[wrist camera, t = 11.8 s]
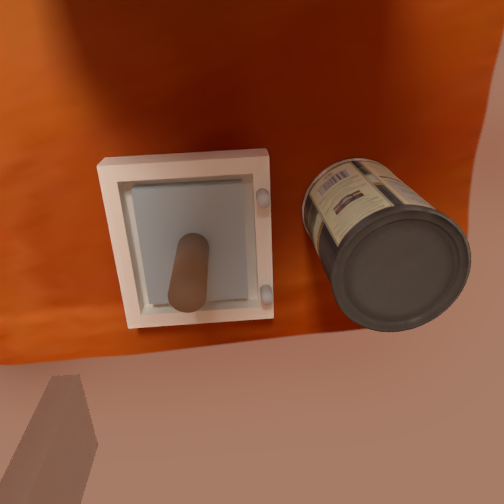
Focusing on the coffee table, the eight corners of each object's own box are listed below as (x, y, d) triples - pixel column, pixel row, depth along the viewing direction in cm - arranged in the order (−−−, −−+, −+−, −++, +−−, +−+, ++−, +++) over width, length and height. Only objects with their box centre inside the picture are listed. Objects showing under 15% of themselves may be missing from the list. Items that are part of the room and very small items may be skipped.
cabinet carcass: (104, 157, 43) (90, 172, 38) (266, 147, 43) (271, 161, 39) (133, 312, 50) (124, 340, 46) (271, 302, 51) (275, 329, 46)
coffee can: (368, 267, 49) (419, 349, 37) (283, 231, 47) (306, 305, 34) (423, 183, 46) (501, 242, 33) (334, 138, 43) (381, 184, 31)
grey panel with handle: (133, 184, 43) (108, 229, 33) (241, 178, 43) (247, 221, 34) (151, 296, 48) (133, 362, 38) (247, 289, 48) (254, 353, 39)
